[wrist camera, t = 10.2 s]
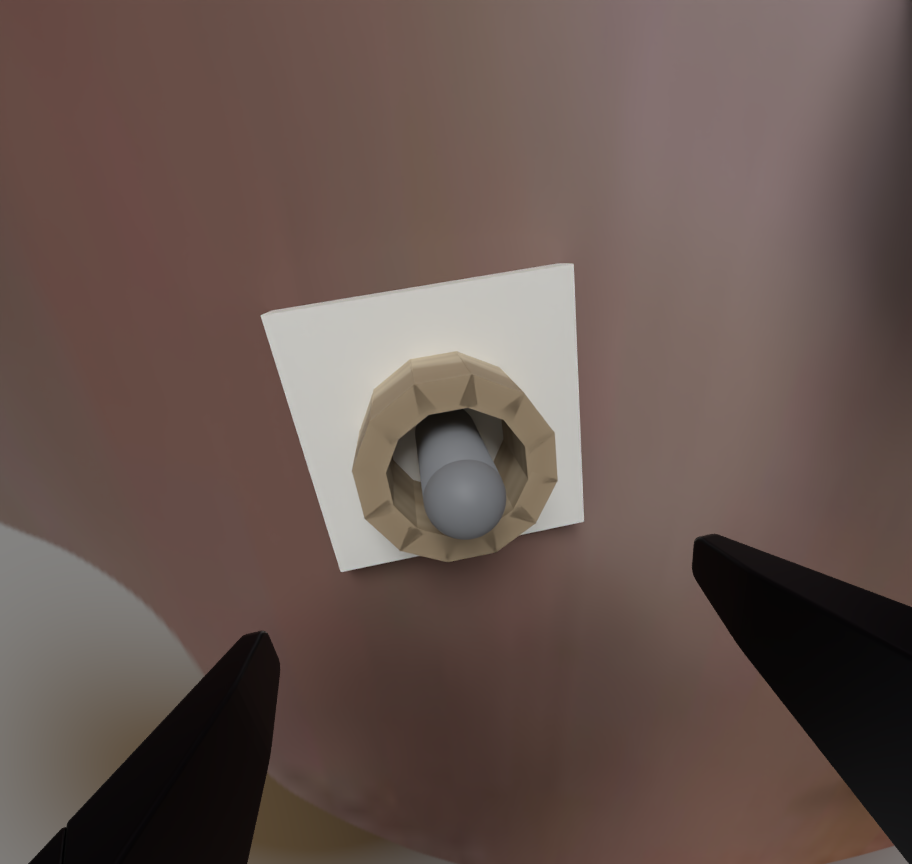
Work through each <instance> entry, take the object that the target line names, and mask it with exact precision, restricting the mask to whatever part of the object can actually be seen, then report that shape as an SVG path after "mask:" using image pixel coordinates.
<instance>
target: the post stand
mask: <svg viewBox="0 0 912 864" xmlns="http://www.w3.org/2000/svg"><path fill="white" fill-rule="evenodd" d="M261 318H262V321H263V325H264V328H265V331H266V334H267V337H268V341H269V344H270V347H271V350H272V353H273V357H274V360H275V363H276V366H277V369H278V373H279V376H280V379H281V382H282V385H283V389H284V392H285V395H286V398H287V401H288V405H289V408H290V411H291V414H292V417H293V421H294V424H295V427H296V430H297V433H298V437H299V440H300V443H301V446H302V449H303V453H304V456H305V459H306V462H307V465H308V469H309V472H310V475H311V478H312V481H313V485H314V488H315V491H316V494H317V497H318V501H319V504H320V507H321V510H322V513H323V517H324V520H325V523H326V526H327V529H328V533H329V536H330V539H331V542H332V545H333V549H334V552H335V555H336V558H337V561H338V565H339V568H340V571H341V572H344V571H349V570H354V569H358V568H363V567H368V566H373V565H378V564H383V563H387V562H392V561H397V560H402V559H407V558H412V557H416V556H419V555H415V554H411V553H407V552H403V551H399V549H397V548H396V547H395V546H394V545H393V544H392V543H391V542H390V541H389V540H388V539H386V538H385V537H384V536H383V535H382V534H381V533H380V532H379V531H378V530H376V529H375V528H374V527H373V526H372V525H371V524H370V523H369V522H368V521H367V520H365V519H364V515H363V511H362V507H361V503H360V500H359V496H358V492H357V488H356V485H355V481H354V477H353V473H352V467H353V462H354V457H355V452H356V447H357V441H358V436H359V431H360V429H361V426H362V423H363V420H364V417H365V414H366V411H367V408H368V405H369V402H370V399H371V397H372V394H373V390H374V389H375V388H376V387H377V386H378V385H380V384H381V383H382V382H383V381H384V380H386V379H387V378H388V377H389V376H390V375H392V374H393V373H394V372H395V371H396V370H398V369H399V368H400V367H401V366H402V365H404V364H405V363H406V362H407V361H408V360H409V359H415V358H420V357H426V356H432V355H438V354H443V353H449V352H455V351H458V352H460V353H463V354H465V355H468V356H471V357H473V358H476V359H479V360H481V361H484V362H487V363H489V364H492V365H495V366H497V367H500V368H501V369H502V370H503V371H504V372H505V373H506V374H507V375H508V376H509V377H510V379H511V380H512V381H513V382H514V383H515V384H516V385H517V386H518V387H519V388H520V389H521V390H522V391H523V392H524V393H525V395H526V396H527V397H528V399H529V400H530V401H531V403H532V404H533V405H534V406H535V408H536V409H537V410H538V412H539V413H540V414H541V416H542V417H543V418H544V420H545V421H546V422H547V424H548V425H549V426H550V427H551V429H552V430H553V431H554V432H555V444H556V460H557V477H558V481H557V483H556V485H555V487H554V489H553V491H552V493H551V495H550V497H549V499H548V501H547V503H546V504H545V506H544V508H543V510H542V512H541V514H540V516H539V518H538V520H537V522H536V524H534V525H533V526H531V527H530V528H529V529H527V530H526V531H525V532H523V533H522V534H520V535H523V534H527V533H532V532H537V531H542V530H547V529H551V528H556V527H561V526H566V525H571V524H576V523H580V522H584V510H583V485H582V460H581V435H580V411H579V386H578V361H577V336H576V311H575V286H574V264H567V263H557V264H551V265H545V266H539V267H533V268H527V269H521V270H515V271H509V272H503V273H497V274H491V275H485V276H478V277H472V278H466V279H460V280H454V281H448V282H442V283H436V284H430V285H424V286H418V287H412V288H406V289H400V290H394V291H387V292H381V293H375V294H369V295H363V296H357V297H351V298H345V299H339V300H333V301H327V302H321V303H315V304H309V305H303V306H296V307H290V308H284V309H278V310H272V311H270V312H267V313H265V314H263V315H261ZM502 441H503V430H502V421H501V419H500V418H497V417H494V416H491V415H488V414H485V413H482V412H479V411H476V410H473V409H470V408H464V409H458V410H453V411H447V412H442V413H436V414H431V415H428V416H427V417H426V418H424V419H423V420H422V421H421V422H419V423H418V424H417V425H416V426H414V427H413V428H412V429H411V430H409V431H408V432H407V433H406V434H404V435H403V436H402V437H401V438H399V439H398V442H397V445H396V447H395V450H394V453H393V455H392V456H393V460H394V461H395V462H396V463H397V464H398V465H399V466H400V467H401V468H402V469H403V470H404V471H405V472H406V473H407V474H408V475H409V476H410V477H411V478H412V479H413V480H415V481H419V482H421V487H422V495H423V503H424V508H425V511H426V514H427V516H428V518H429V520H430V521H431V523H432V524H433V525H434V526H435V527H436V528H437V529H438V530H439V531H440V532H442V533H443V534H445V535H447V536H449V537H452V538H455V539H462V540H469V539H475V538H478V537H481V536H483V535H485V534H487V533H488V532H489V531H491V530H492V529H493V528H494V527H495V526H496V525H497V524H498V522H499V521H500V519H501V517H502V515H503V513H504V510H505V506H506V490H505V486H504V483H503V480H502V478H501V476H500V474H499V472H498V470H497V468H496V466H495V464H494V462H493V461H494V459H495V457H496V455H497V452H498V450H499V448H500V446H501V444H502Z"/></svg>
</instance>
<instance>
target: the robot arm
mask: <svg viewBox="0 0 912 864" xmlns="http://www.w3.org/2000/svg"><path fill="white" fill-rule="evenodd" d="M692 571H693V575H694V577H695V579H696V581H697V583H698V584H699V586H700V587H701V589H702V591H703V592H704V594H705V595H706V597H707V598H708V600H709V601H710V603H711V605H712V606H713V608H714V609H715V611H716V612H717V614H718V615H719V617H720V619H721V620H722V622H723V623H724V625H725V626H726V628H727V629H728V631H729V633H730V634H731V636H732V637H733V638H734V640H735V641H736V643H737V644H738V646H739V647H740V648H741V650H742V651H743V652H744V654H745V655H746V656H747V658H748V659H749V660H750V661H751V663H752V664H753V665H754V667H755V668H756V669H757V670H758V672H759V673H760V674H761V676H762V677H763V678H764V679H765V681H766V682H767V683H768V684H769V686H770V687H771V688H772V690H773V691H774V692H775V693H776V695H777V696H778V697H779V699H780V700H781V701H782V702H783V704H784V705H785V706H786V707H787V709H788V710H789V711H790V713H791V714H792V715H793V716H794V718H795V719H796V720H797V721H798V723H799V724H800V725H801V727H802V728H803V729H804V730H805V732H806V733H807V734H808V736H809V737H810V738H811V739H812V741H813V742H814V743H815V744H816V746H817V747H818V748H819V750H820V751H821V752H822V753H823V755H824V756H825V757H826V758H827V760H828V761H829V762H830V764H831V765H832V766H833V767H834V769H835V770H836V771H837V773H838V774H839V775H840V776H841V778H842V779H843V780H844V781H845V783H846V784H847V785H848V787H849V788H850V789H851V790H852V792H853V793H854V794H855V796H856V797H857V798H858V799H859V801H860V802H861V803H862V804H863V806H864V807H865V808H866V810H867V811H868V812H869V813H870V815H871V816H872V817H873V818H874V820H875V821H876V822H877V824H878V825H879V826H880V827H881V829H882V830H883V831H884V833H885V834H886V835H887V836H888V838H889V839H890V840H891V841H892V843H893V844H894V845H895V847H896V848H897V849H898V850H899V852H900V853H901V854H902V855H903V857H904V858H905V859H906V861H907V862H908V863H909V864H912V607H910V606H908V605H905V604H902V603H900V602H897V601H894V600H892V599H889V598H886V597H884V596H881V595H878V594H876V593H873V592H870V591H868V590H865V589H862V588H860V587H857V586H854V585H852V584H849V583H846V582H844V581H841V580H838V579H836V578H833V577H830V576H828V575H825V574H822V573H820V572H817V571H814V570H812V569H809V568H806V567H803V566H801V565H798V564H795V563H793V562H790V561H787V560H785V559H782V558H779V557H777V556H774V555H771V554H769V553H766V552H763V551H761V550H758V549H755V548H753V547H750V546H747V545H745V544H742V543H739V542H737V541H734V540H731V539H729V538H726V537H723V536H721V535H718V534H710V535H705V536H700V537H698V538H696V539H695V541H694V547H693V560H692ZM279 677H280V662H279V658H278V656H277V654H276V651H275V649H274V646H273V644H272V642H271V639H270V637H269V635H268V633H267V632H265V631H258V632H254V633H249V634H246V635H244V636H242V637H241V638H240V639H239V640H238V641H237V642H236V643H235V644H234V645H233V646H232V648H231V649H230V650H229V651H228V652H227V653H226V654H225V655H224V656H223V657H222V658H221V659H220V660H219V661H218V662H217V664H216V665H215V666H214V667H213V668H212V669H211V670H210V671H209V672H208V673H207V674H206V675H205V676H204V677H203V678H202V679H201V681H200V682H199V683H198V684H197V685H196V686H195V687H194V688H193V689H192V690H191V691H190V692H189V693H188V694H187V696H186V697H185V698H184V699H183V700H182V701H181V702H180V703H179V704H178V705H177V706H176V707H175V708H174V710H173V711H172V712H171V713H170V714H169V715H168V716H167V717H166V718H165V719H164V720H163V721H162V722H161V723H160V724H159V725H158V726H157V727H156V729H155V730H154V731H153V732H152V733H151V734H150V735H149V736H148V737H147V738H146V739H145V740H144V741H143V742H142V744H141V745H140V746H139V747H138V748H137V749H136V750H135V751H134V752H133V753H132V754H131V755H130V756H129V757H128V758H127V760H126V761H125V762H124V763H123V764H122V765H121V766H120V767H119V768H118V769H117V770H116V771H115V772H114V773H113V774H112V776H111V777H110V778H109V779H108V780H107V781H106V782H105V783H104V784H103V785H102V786H101V787H100V788H99V789H98V790H97V792H96V793H95V794H94V795H93V796H92V797H91V798H90V799H89V800H88V801H87V802H86V803H85V804H84V805H83V807H82V808H80V810H79V811H78V812H77V813H76V814H75V815H74V816H73V817H72V818H71V819H70V820H69V821H68V823H67V827H64V828H62V829H61V830H60V831H59V832H58V833H57V834H56V835H55V836H54V837H53V838H52V839H51V840H50V841H49V842H48V843H47V844H46V846H45V847H44V848H43V849H42V850H41V851H40V852H39V853H38V854H37V855H36V856H35V857H34V858H33V859H32V860H31V861H30V862H29V863H28V864H247V862H248V858H249V853H250V848H251V844H252V839H253V834H254V830H255V825H256V821H257V816H258V811H259V807H260V802H261V797H262V793H263V788H264V784H265V779H266V774H267V770H268V764H269V759H270V754H271V746H272V739H273V730H274V721H275V712H276V704H277V695H278V686H279Z"/></svg>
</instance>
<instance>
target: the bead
mask: <svg viewBox="0 0 912 864" xmlns="http://www.w3.org/2000/svg"><path fill="white" fill-rule="evenodd" d="M464 408H470V409H473V410H476V411H479V412H482V413H485V414H488V415H491V416H494V417H497V418H500V419H501V421H502V430H503V441H502V444H501V446H500V448H499V450H498V452H497V455H496V457H495V459H494V461H493V462H494V464H495V466H496V468H497V470H498V472H499V474H500V476H501V478H502V480H503V483H504V486H505V490H506V506H505V510H504V513H503V515H502V517H501V519H500V521H499V522H498V524H497V525H496V526H495V527H494V528H493V529H492V530H491V531H489V532H488V533H487V534H485V535H483V536H481V537H478V538H475V539H469V540H462V539H455V538H452V537H449V536H447V535H445V534H443V533H442V532H440V531H439V530H438V529H437V528H436V527H435V526H434V525H433V524H432V523H431V521H430V520H429V518H428V516H427V514H426V511H425V508H424V503H423V495H422V487H421V482H419V481H415V480H413V479H412V478H411V477H410V476H409V475H408V474H407V473H406V472H405V471H404V470H403V469H402V468H401V467H400V466H399V465H398V464H397V463H396V462H395V461H394V460H393V456H392V455H393V453H394V450H395V447H396V445H397V442H398V439H399V438H401V437H402V436H403V435H404V434H406V433H407V432H408V431H409V430H411V429H412V428H413V427H414V426H416V425H417V424H418V423H419V422H421V421H422V420H423V419H424V418H426V417H427V416H428V415H431V414H436V413H442V412H447V411H453V410H458V409H464ZM352 473H353V477H354V481H355V485H356V488H357V492H358V496H359V500H360V503H361V507H362V511H363V515H364V519H365V520H367V521H368V522H369V523H370V524H371V525H372V526H373V527H374V528H375V529H376V530H378V531H379V532H380V533H381V534H382V535H383V536H384V537H385V538H386V539H388V540H389V541H390V542H391V543H392V544H393V545H394V546H395V547H396V548H397V549H399V551H403V552H407V553H411V554H415V555H419V556H423V557H428V558H432V559H436V560H440V561H444V562H452V561H456V560H461V559H466V558H471V557H476V556H481V555H485V554H490V553H496V552H497V551H499V550H500V549H501V548H503V547H504V546H505V545H507V544H508V543H510V542H511V541H512V540H514V539H515V538H516V537H518V536H519V535H520V534H522V533H523V532H525V531H526V530H527V529H529V528H530V527H531V526H533V525H534V524H536V522H537V520H538V518H539V516H540V514H541V512H542V510H543V508H544V506H545V504H546V503H547V501H548V499H549V497H550V495H551V493H552V491H553V489H554V487H555V485H556V483H557V481H558V477H557V460H556V444H555V432H554V431H553V430H552V429H551V427H550V426H549V425H548V424H547V422H546V421H545V420H544V418H543V417H542V416H541V414H540V413H539V412H538V410H537V409H536V408H535V406H534V405H533V404H532V403H531V401H530V400H529V399H528V397H527V396H526V395H525V393H524V392H523V391H522V390H521V389H520V388H519V387H518V386H517V385H516V384H515V383H514V382H513V381H512V380H511V379H510V377H509V376H508V375H507V374H506V373H505V372H504V371H503V370H502V369H501V368H500V367H497V366H495V365H492V364H489V363H487V362H484V361H481V360H479V359H476V358H473V357H471V356H468V355H465V354H463V353H460V352H458V351H455V352H449V353H443V354H438V355H432V356H426V357H420V358H415V359H409V360H408V361H407V362H406V363H405V364H404V365H402V366H401V367H400V368H399V369H398V370H396V371H395V372H394V373H393V374H392V375H390V376H389V377H388V378H387V379H386V380H384V381H383V382H382V383H381V384H380V385H378V386H377V387H376V388H375V389H374V390H373V394H372V397H371V399H370V402H369V405H368V408H367V411H366V414H365V417H364V420H363V423H362V426H361V429H360V431H359V436H358V441H357V447H356V452H355V457H354V462H353V467H352Z"/></svg>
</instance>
